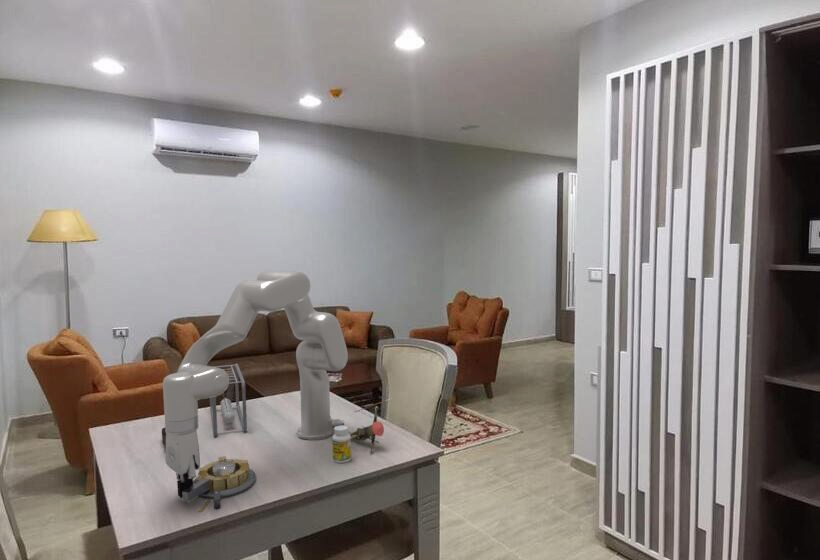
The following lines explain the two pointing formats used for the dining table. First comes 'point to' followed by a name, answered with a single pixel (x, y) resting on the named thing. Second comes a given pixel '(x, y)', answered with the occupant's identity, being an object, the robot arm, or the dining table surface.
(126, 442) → the dining table surface
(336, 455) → the supplement bottle
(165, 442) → the hand tool
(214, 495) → the housing
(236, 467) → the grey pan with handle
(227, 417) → the newton's cradle
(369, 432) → the green toy propeller plane
